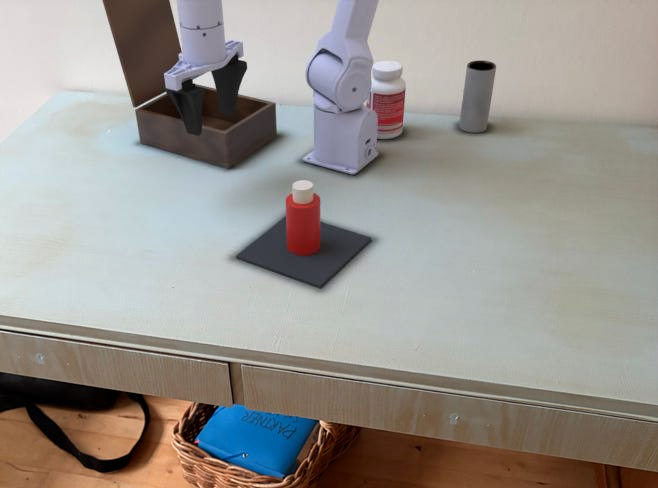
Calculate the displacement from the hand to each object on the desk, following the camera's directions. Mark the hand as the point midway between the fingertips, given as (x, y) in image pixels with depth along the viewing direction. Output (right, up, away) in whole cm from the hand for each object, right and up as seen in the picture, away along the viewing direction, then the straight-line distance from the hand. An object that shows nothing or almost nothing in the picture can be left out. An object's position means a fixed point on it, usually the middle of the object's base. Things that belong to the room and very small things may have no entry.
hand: (211, 123), depth 106 cm
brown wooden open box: (-2, +4, +20) cm, 21 cm away
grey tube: (+42, +5, +20) cm, 47 cm away
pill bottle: (+27, +5, +20) cm, 34 cm away
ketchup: (+13, -18, -7) cm, 23 cm away
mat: (+13, -19, -6) cm, 24 cm away
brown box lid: (-12, +19, +15) cm, 27 cm away
